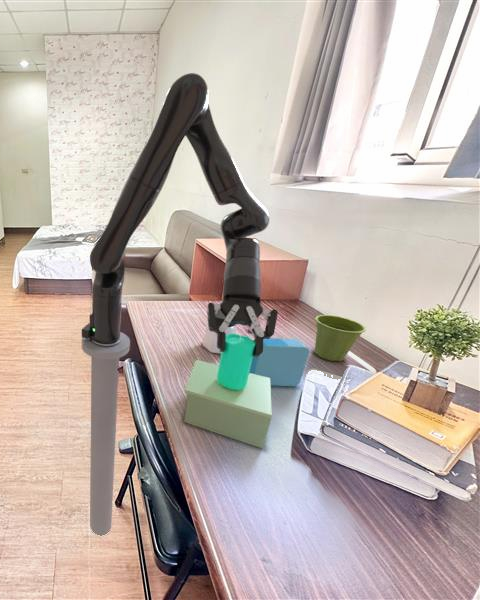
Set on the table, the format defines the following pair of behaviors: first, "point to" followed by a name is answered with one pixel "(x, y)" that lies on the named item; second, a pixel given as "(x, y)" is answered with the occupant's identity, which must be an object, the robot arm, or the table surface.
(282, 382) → the data package
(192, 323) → the table surface
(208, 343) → the jar
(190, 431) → the table surface
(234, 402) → the chest lid
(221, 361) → the candle
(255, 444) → the chest
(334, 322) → the plant pot
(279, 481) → the table surface
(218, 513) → the table surface
